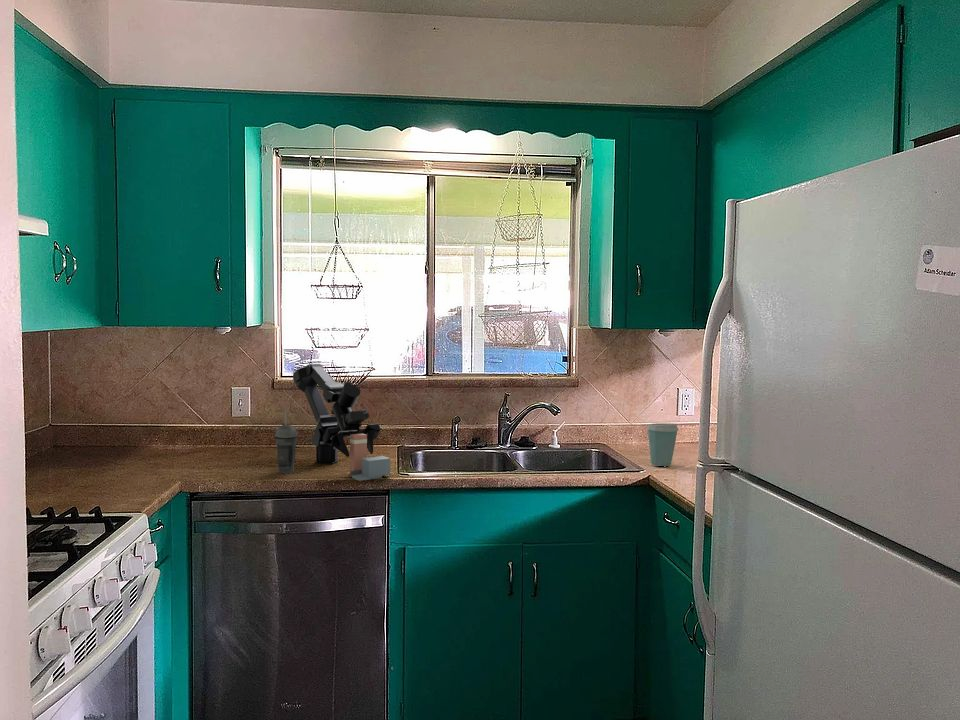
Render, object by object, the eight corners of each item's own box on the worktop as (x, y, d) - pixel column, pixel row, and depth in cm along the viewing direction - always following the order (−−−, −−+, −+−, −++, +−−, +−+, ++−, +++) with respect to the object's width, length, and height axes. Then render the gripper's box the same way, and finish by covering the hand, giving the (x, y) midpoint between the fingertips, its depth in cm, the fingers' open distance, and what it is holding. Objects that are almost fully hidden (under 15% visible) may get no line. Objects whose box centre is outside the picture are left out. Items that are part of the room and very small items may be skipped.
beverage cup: (277, 475, 248) (277, 412, 246) (272, 470, 254) (272, 410, 253) (300, 473, 251) (300, 411, 250) (294, 468, 257) (294, 409, 256)
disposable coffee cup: (639, 465, 270) (641, 422, 269) (655, 461, 278) (657, 419, 277) (667, 470, 263) (668, 426, 262) (682, 465, 271) (684, 423, 270)
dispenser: (350, 477, 246) (350, 458, 245) (380, 473, 252) (380, 455, 252) (359, 481, 240) (359, 461, 240) (390, 477, 247) (390, 458, 246)
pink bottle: (349, 474, 250) (349, 434, 249) (362, 473, 252) (362, 433, 252) (354, 476, 247) (354, 435, 246) (366, 474, 250) (367, 434, 249)
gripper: (326, 402, 246) (341, 442, 238) (378, 399, 257) (394, 437, 249) (315, 424, 253) (330, 463, 245) (367, 420, 264) (382, 457, 256)
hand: (360, 454), depth 248 cm, fingers open, 8 cm apart
